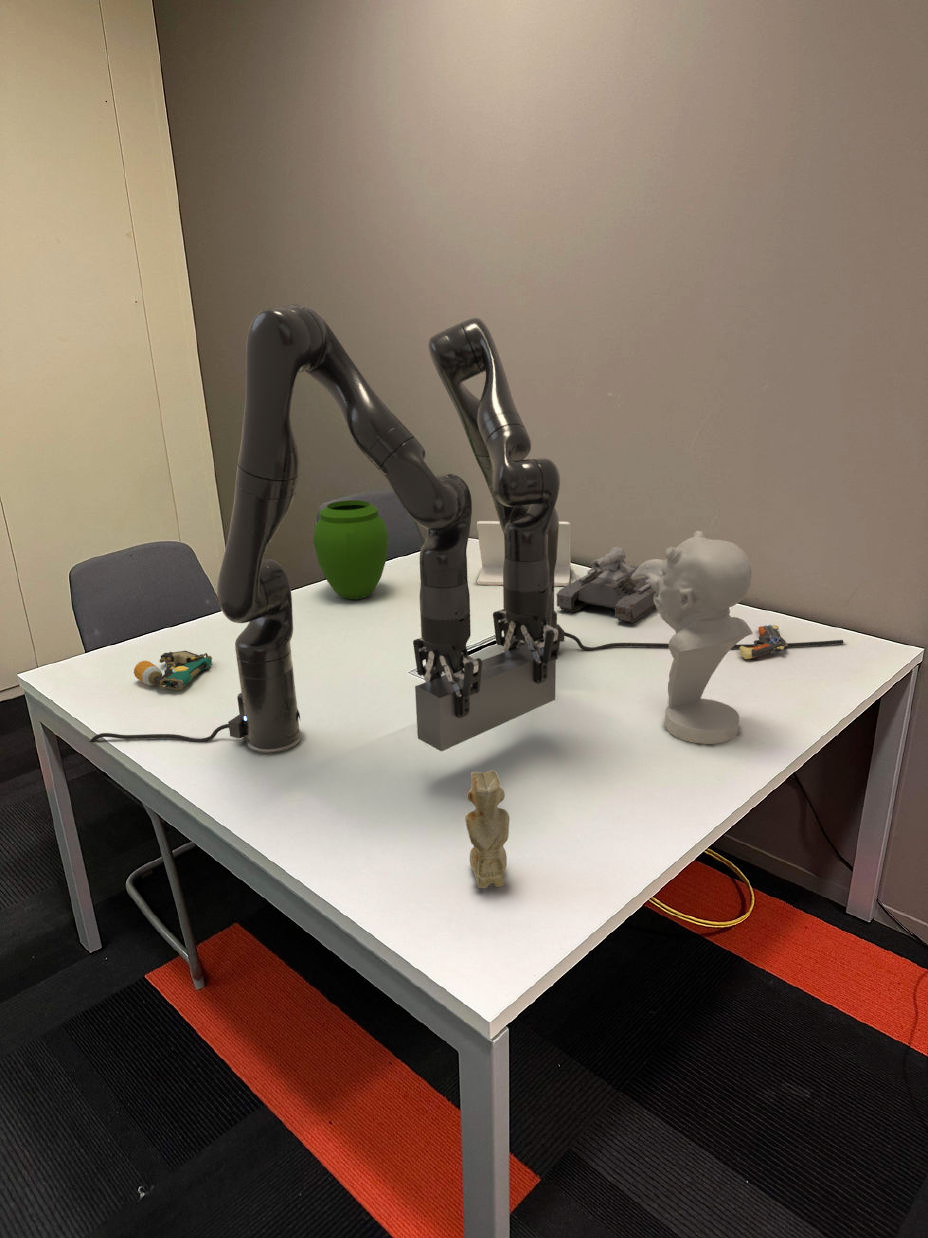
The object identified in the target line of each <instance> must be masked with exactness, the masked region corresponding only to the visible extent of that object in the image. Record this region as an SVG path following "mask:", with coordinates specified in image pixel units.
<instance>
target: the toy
mask: <svg viewBox="0 0 928 1238" xmlns="http://www.w3.org/2000/svg"><path fill="white" fill-rule="evenodd" d="M626 557H627V556H626V551H625V549H624V548H622V547H621V546H614V547H612V548H611V549H610V550H609V552H608V553H607V554H605V555H604V556H601V557H599V558H598V559H597V557H596V558H594V559H593V560H592V561H590V562H589V563H590V564H591V565H592V567H591V568H590V569H589V570H587V573H586V575H584V576H582V577H580V578H578V579H577V580H575V581H573V582H570V583H569V585H567V586H563V587H562V588H560V589H559V590H558V591H557V592H556V607H558V608H559V609H560V610H562V611H566V612H572V613H575V612H577V611H579V610H581V609H582V608H585V607H586V606H588V605H592V606H598V607H602V608H603V607H604V608H609V609H613V610H614V618H615V619H617V620H618V621H621V622H626V623H631V624H634V623H635V622H637V621H638V620H640V619H641V618H642V617H644V616H645V615H647V614H648V613H650V612H651V611H652V610H654V609H655V608H656V605H655V604H654V600H653V597H654V594H655V593H656V592H655V591H654V590H653V589H652V587H651V583H650V579H649V578H647V577H644V578H640V579H635V580H634V579H632V578H631V576H632V575H633V574H634V573H635V571H636V570H637V569H638V568H639V566H635V565H629V564H628V563H627V562H626V561H625V559H626Z"/></svg>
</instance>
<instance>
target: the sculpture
mask: <svg viewBox="0 0 928 1238" xmlns="http://www.w3.org/2000/svg"><path fill="white" fill-rule="evenodd" d="M470 776H471V786H470V790H469V791H468V792H467V794H466V799H467V801H469V802H470V803H471V804H472V805H473V806H474V807H475V809H474V810H472V811H470V812H467V813H466V814H465V815H464V816H465V817H464V820H465V821H464V822H465V825H466V830H467V833H468V837H469V840H470V843H471V844H472V845H473V847H472V848H471V849H470V852H469V864H470V865H469V866H470V868H471V871H472V872H473V875H474V878H475V880H476V881H475V882H476V884H477V887H478V888H479V889H487V888H489V886H490V884H493V886H494V887H496V888H497V887H498V888H499V887H500V888H501V887H504V886H505V873H506V870H507V858H508V857H507V852H506V850H505V847H504V845H505V844H506V842H507V841H508V839H509V834H510V814H509V812H508V811H507V810H506V809H505V808H501V807H499V805H500V804H501V802H503V801H504V799H505V797H506V792H505V789H503V787H501V781H500V778H499V776H498V773H497V772H496V770H493V769H492V770H488V771H484V772H479V771H473V772H471V773H470Z"/></svg>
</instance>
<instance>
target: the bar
mask: <svg viewBox="0 0 928 1238" xmlns="http://www.w3.org/2000/svg"><path fill="white" fill-rule="evenodd" d="M534 644H535V645H536V643H534ZM539 653H540V655H542V653H541V650H540V649H539ZM481 660H482V672H481V682H480V692H479V693H476V694H473V695H471V696H469V700H470V712H469V713H468V715H467V716H465V717H462V718H458V717H456V716H455V696H456V695H455V692H454V689H453V686H452V684H451V683H449V682H448V679H447V676H446V674H444V675H443V674H442V675H441V677H438V678H436V679H433V680H430V681H428V682H426V681H424V682H423V683H420V684H417V685H415V686H414V691H415V711H416V713H415V715H416V728H417V729H416V733H417V739H418V740H420V741H421V742H424V743H425V744H427V745H428V746H430V747H432V748H434V749H436V750H437V751H440V752H444V751H446V750H448V749H451V748H452V747H455V746H457V745H459V744H462V743H463V742H465V741H468V740H470V739H473V738H474V737H477V736H479V735H481V734H483V733H485V732H488V731H490V730H492V729H495V728H496V727H498V726H500V725H503V724H505V723H507V722H510V721H512V720H514V719H516V718H519V717H521V716H523V715H525V714H527V713H530V712H532V711H533V710H536V709H539V708H541V707H543V706H545V705H547V704H549V703H552V702H553V701H556V682H557V680H556V679H557V677H556V673H557V660H554V661H552V662H549V663H548V671H547V672H548V673H547V674H548V677H547V679H546V680H545V681H544V682H542V683H540V684H537V683H535V682H534V663H535V660H534V657H533V654H532V652H531V651H529V649H528V646H527V644H524V645H521V646H519V647H516V648H514V649H511V650H508V651H504V652H501V653H498V654H496V655H493V656H490V657H488V658H485V659H481ZM460 674H461V670H460V671H459V672H457V673H454V676H458V675H460ZM459 684H460V688H462V687H463V683H462V680H460V681H459ZM472 685H473V683H472V684H471V686H472Z"/></svg>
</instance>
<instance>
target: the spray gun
mask: <svg viewBox="0 0 928 1238" xmlns="http://www.w3.org/2000/svg"><path fill="white" fill-rule="evenodd" d="M212 660H213V657H212V656H211V655H208V653H207V652H205V653H201V654H197V653H194V652H192V651H191V652H190V651H188V650H180V651H169V652H164V653H162V654H161V655H160V658H159V660H158V662H159V663H161V664H163V663H165V664H166V668H165V670H163V672H164V674H163V673H162V669H160V668H159V666H157V665H156V664H154V663H152V662H151V661H149V660H141V661H139V662H138V663H136V665H135V666H134V668H133V675H134V677H135V678H136V679H137V680H139V681H140V682H142V683H143V684H145V685H147V686H155V685H157V686H158V687H160V688H161V689H171V690H172V689H173V690H182V689H184V687H185V686H186V685H188V684H189V683H190V682H191V681H192V679H193V678H195V677H196V676H197V675H198V674H200V673H201V672H202V671H203V670H206V669H208V668H209V667H210V666H211V665H212V662H213V661H212ZM178 663H179V664H181V665H179V666H176V665H177V664H178Z"/></svg>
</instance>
